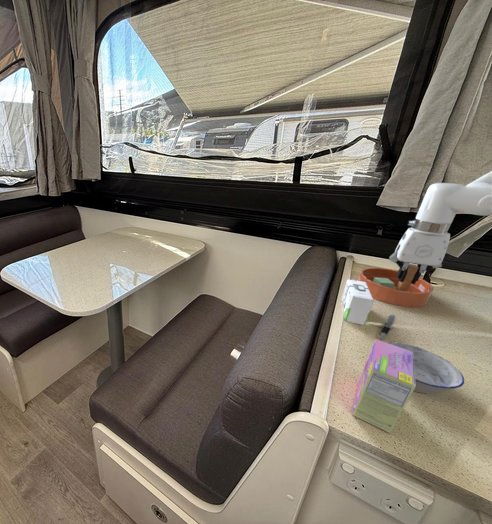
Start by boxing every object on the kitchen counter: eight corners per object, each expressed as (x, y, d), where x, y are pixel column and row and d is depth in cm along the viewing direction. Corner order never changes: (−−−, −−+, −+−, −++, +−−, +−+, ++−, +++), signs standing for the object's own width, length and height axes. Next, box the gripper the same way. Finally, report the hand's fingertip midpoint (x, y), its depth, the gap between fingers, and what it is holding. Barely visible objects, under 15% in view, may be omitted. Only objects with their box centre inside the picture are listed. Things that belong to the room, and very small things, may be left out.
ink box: (344, 321, 78) (339, 302, 87) (365, 326, 75) (358, 305, 85) (352, 295, 74) (346, 278, 84) (375, 299, 72) (366, 281, 82)
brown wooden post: (406, 291, 90) (418, 264, 86) (410, 297, 86) (423, 269, 82) (390, 288, 91) (402, 262, 87) (394, 294, 88) (406, 266, 84)
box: (357, 381, 58) (375, 338, 53) (391, 396, 55) (415, 351, 50) (350, 415, 51) (371, 368, 46) (389, 434, 48) (416, 387, 43)
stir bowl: (413, 287, 95) (419, 273, 93) (436, 314, 80) (445, 298, 78) (351, 277, 102) (355, 264, 100) (362, 300, 88) (367, 285, 85)
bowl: (442, 416, 51) (454, 398, 49) (363, 371, 61) (370, 355, 59) (462, 385, 57) (473, 368, 55) (387, 350, 67) (394, 334, 65)
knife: (372, 336, 72) (386, 340, 70) (372, 333, 71) (387, 338, 69) (382, 313, 81) (396, 316, 79) (383, 310, 81) (396, 314, 79)
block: (383, 288, 94) (387, 278, 92) (390, 294, 90) (395, 283, 88) (370, 287, 94) (374, 277, 93) (377, 292, 91) (381, 282, 89)
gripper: (399, 226, 80) (377, 281, 87) (475, 233, 73) (444, 291, 81) (391, 220, 86) (372, 271, 93) (460, 226, 79) (433, 281, 87)
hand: (405, 280), depth 87 cm, fingers closed on brown wooden post, 2 cm apart
